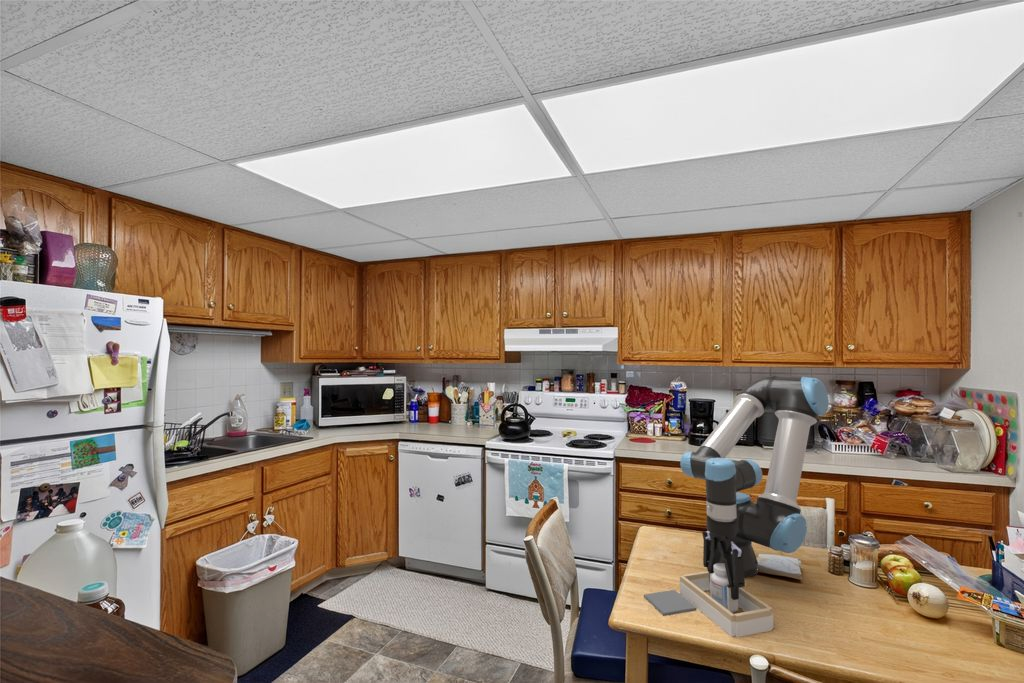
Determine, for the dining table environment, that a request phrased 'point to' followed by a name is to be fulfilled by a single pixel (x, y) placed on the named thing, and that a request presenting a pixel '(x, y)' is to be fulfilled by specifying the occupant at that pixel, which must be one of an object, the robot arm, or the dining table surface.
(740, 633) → the beige frame
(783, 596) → the dining table surface
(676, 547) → the dining table surface
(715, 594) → the pill bottle
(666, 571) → the dining table surface
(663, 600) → the coaster
